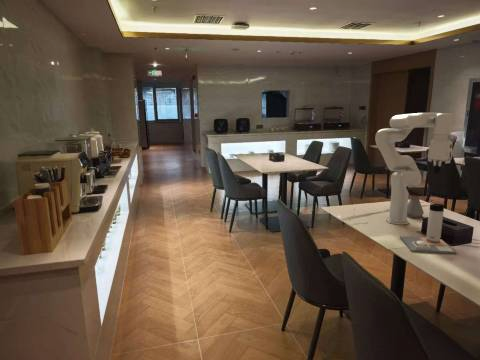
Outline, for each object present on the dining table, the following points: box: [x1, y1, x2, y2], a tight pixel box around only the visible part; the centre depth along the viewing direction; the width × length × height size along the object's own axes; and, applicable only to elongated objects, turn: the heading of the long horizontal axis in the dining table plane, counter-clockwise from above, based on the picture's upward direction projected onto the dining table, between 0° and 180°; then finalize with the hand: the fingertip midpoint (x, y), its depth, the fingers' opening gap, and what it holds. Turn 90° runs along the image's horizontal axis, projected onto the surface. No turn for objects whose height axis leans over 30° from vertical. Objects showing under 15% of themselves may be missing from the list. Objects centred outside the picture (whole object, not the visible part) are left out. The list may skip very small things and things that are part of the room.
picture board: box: [399, 236, 457, 255], centre depth 170 cm, size 18×20×2 cm
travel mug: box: [425, 203, 445, 243], centre depth 171 cm, size 6×7×20 cm
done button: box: [416, 241, 426, 246], centre depth 166 cm, size 4×4×2 cm
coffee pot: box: [407, 191, 425, 219], centre depth 221 cm, size 21×12×15 cm, turn 178°
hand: (437, 173), depth 175 cm, fingers closed
